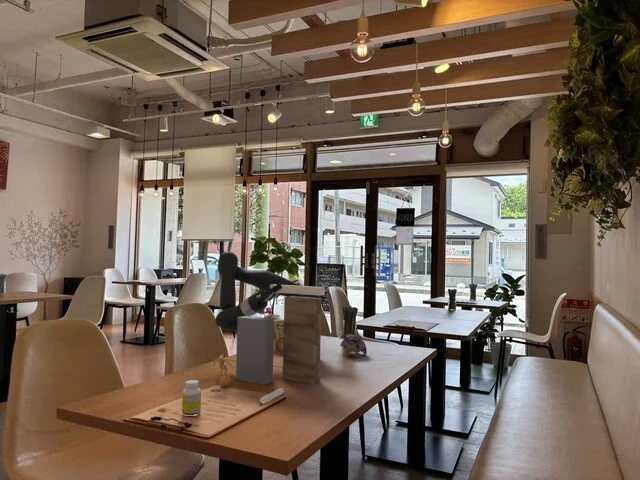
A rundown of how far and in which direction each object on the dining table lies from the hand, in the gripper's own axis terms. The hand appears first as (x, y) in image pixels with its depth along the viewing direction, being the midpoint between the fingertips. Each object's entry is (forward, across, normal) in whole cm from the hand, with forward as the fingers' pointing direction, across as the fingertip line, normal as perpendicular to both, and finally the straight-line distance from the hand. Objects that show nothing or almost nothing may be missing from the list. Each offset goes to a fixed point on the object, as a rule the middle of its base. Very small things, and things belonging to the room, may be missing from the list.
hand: (283, 285), depth 196 cm
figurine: (-25, -26, +28) cm, 45 cm away
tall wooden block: (-10, 0, +36) cm, 38 cm away
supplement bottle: (-14, -54, +34) cm, 65 cm away
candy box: (-47, +43, +15) cm, 66 cm away
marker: (-5, -28, +40) cm, 49 cm away
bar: (+4, 0, +6) cm, 7 cm away
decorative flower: (-15, +54, +34) cm, 66 cm away
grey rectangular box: (-22, -12, +29) cm, 38 cm away
